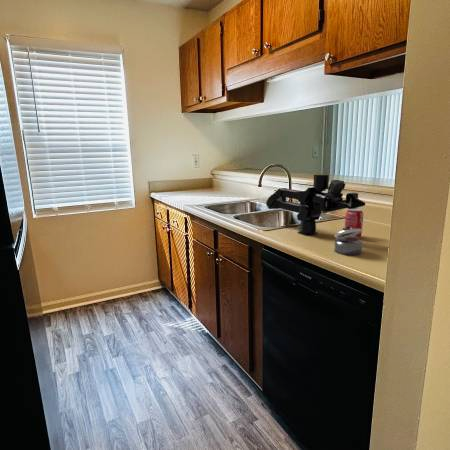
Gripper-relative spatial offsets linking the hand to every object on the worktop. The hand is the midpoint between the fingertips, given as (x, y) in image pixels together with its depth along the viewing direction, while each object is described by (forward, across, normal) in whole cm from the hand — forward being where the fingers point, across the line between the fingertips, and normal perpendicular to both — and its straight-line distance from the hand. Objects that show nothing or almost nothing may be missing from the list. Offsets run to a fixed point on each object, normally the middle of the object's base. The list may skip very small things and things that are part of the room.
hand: (356, 205), depth 126 cm
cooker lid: (+2, -6, +10) cm, 12 cm away
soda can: (-11, +13, +17) cm, 24 cm away
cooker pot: (+3, -6, +16) cm, 18 cm away
